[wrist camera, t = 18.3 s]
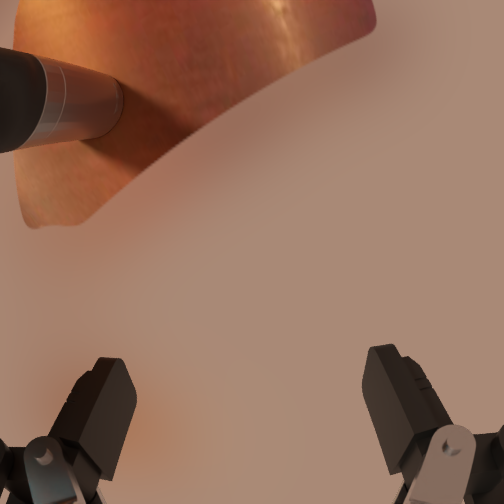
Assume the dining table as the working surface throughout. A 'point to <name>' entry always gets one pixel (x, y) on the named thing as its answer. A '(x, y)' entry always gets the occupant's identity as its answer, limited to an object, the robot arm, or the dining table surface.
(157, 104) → the dining table surface
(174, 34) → the dining table surface
